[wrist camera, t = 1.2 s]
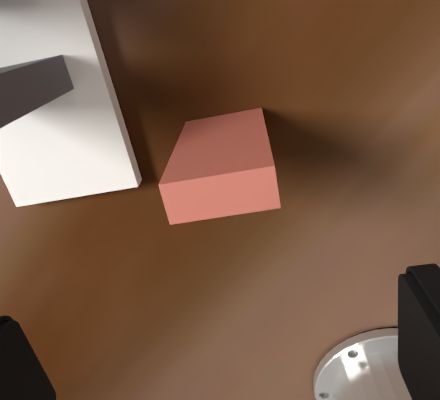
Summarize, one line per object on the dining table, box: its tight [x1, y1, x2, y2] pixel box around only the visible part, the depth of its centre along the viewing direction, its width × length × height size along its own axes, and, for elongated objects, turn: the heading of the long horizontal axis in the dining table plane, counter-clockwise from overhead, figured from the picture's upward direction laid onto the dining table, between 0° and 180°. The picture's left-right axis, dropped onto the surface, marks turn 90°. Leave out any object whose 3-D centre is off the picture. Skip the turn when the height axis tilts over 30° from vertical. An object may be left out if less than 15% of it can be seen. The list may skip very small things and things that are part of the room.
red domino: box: [159, 108, 281, 225], centre depth 22 cm, size 2×5×10 cm, turn 101°
